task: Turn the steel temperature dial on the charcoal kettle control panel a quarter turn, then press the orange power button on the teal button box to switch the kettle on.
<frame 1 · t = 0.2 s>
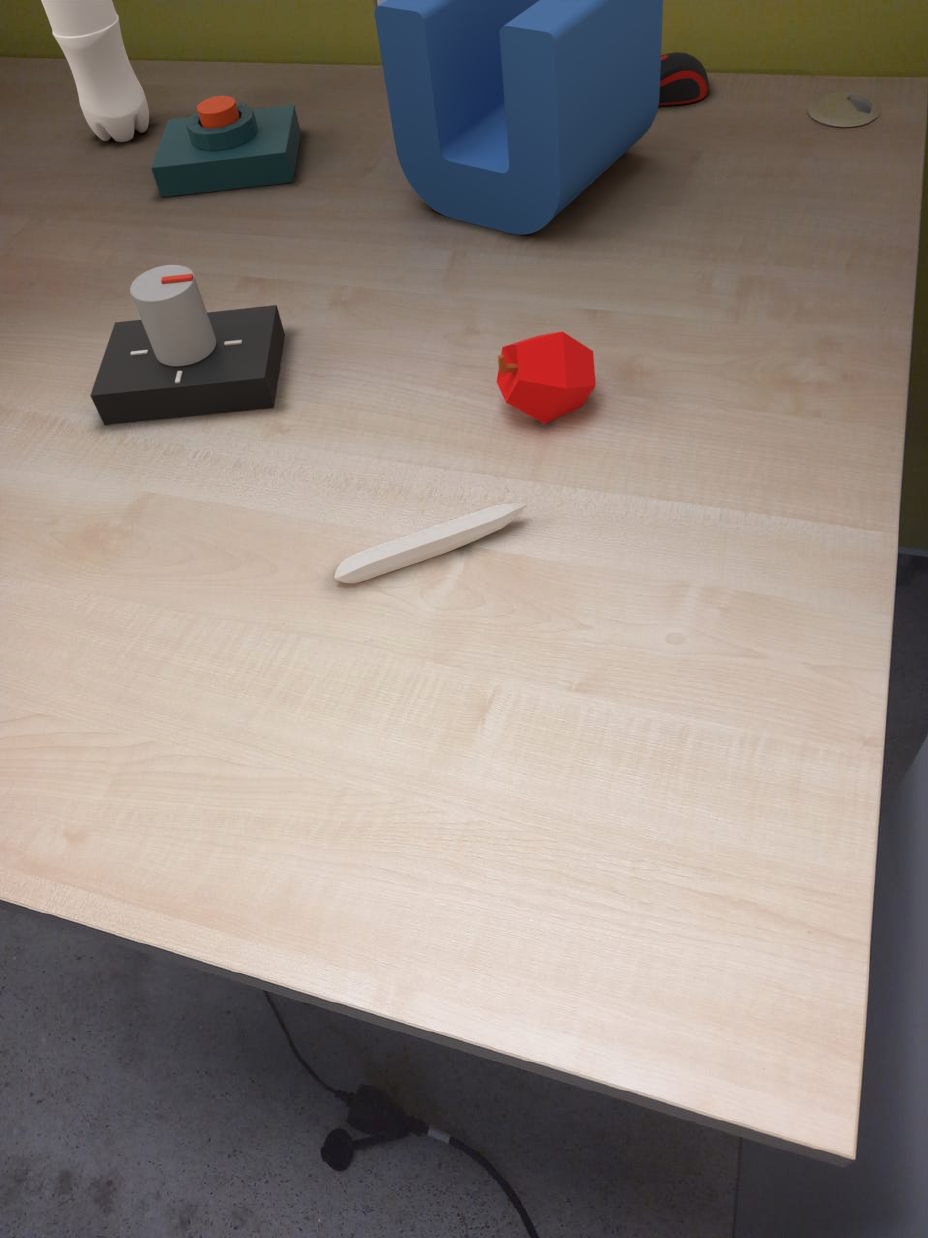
apple: (548, 405, 79), on the table
teal button box: (233, 164, 110), on the table
pen: (433, 552, 70), on the table
dial panel: (197, 378, 85), on the table
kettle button: (218, 112, 106), point 5 cm above the table, slide at 0.1 cm
computer mouse: (656, 97, 110), on the table
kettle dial: (173, 314, 81), point 6 cm above the table, hinge at 0.0°
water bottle: (125, 134, 118), on the table
block: (531, 183, 101), on the table
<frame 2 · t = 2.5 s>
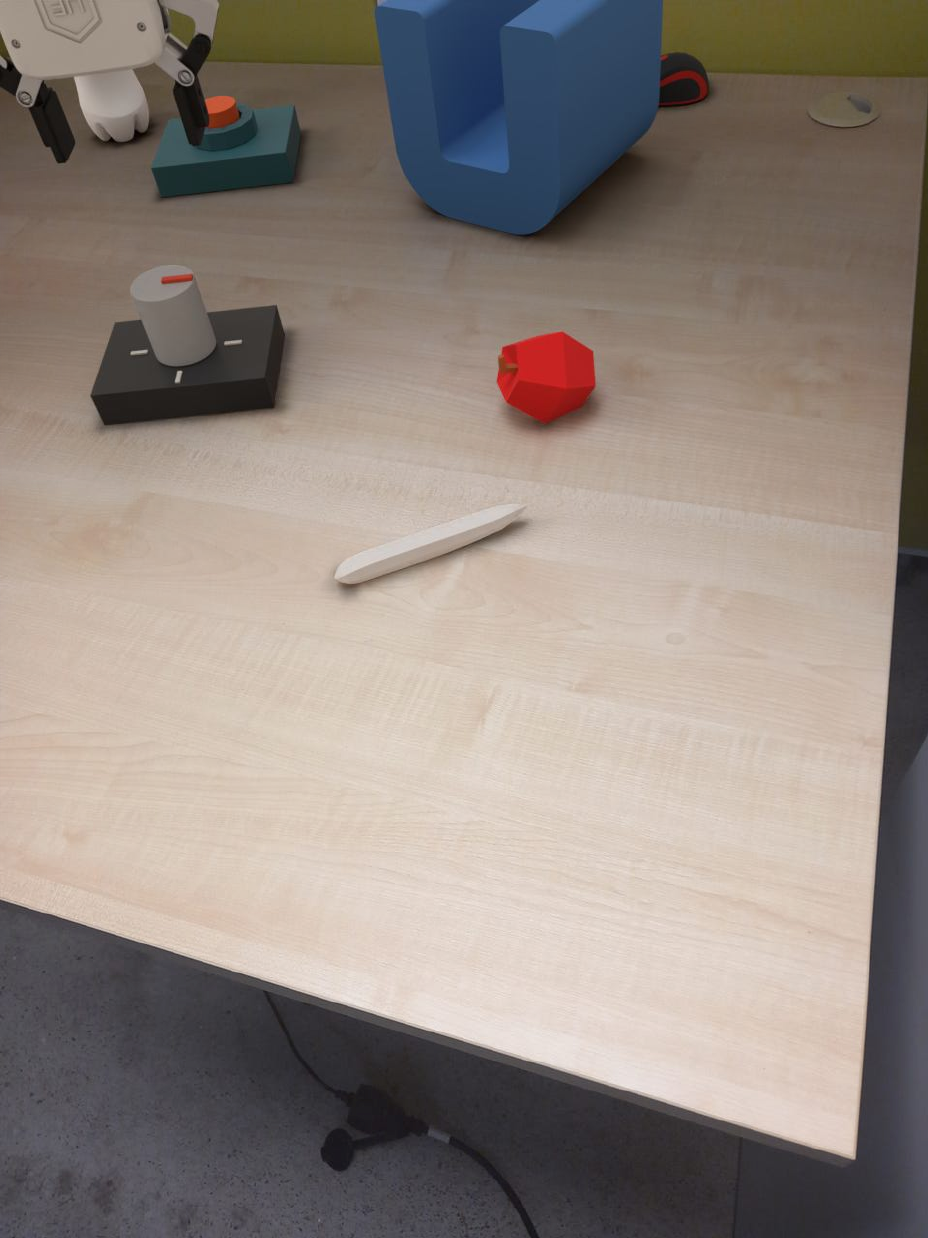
hand: (132, 145, 73), 18 cm above the table, tool pointing down, fingers open, 9 cm apart
nothing on the table moved.
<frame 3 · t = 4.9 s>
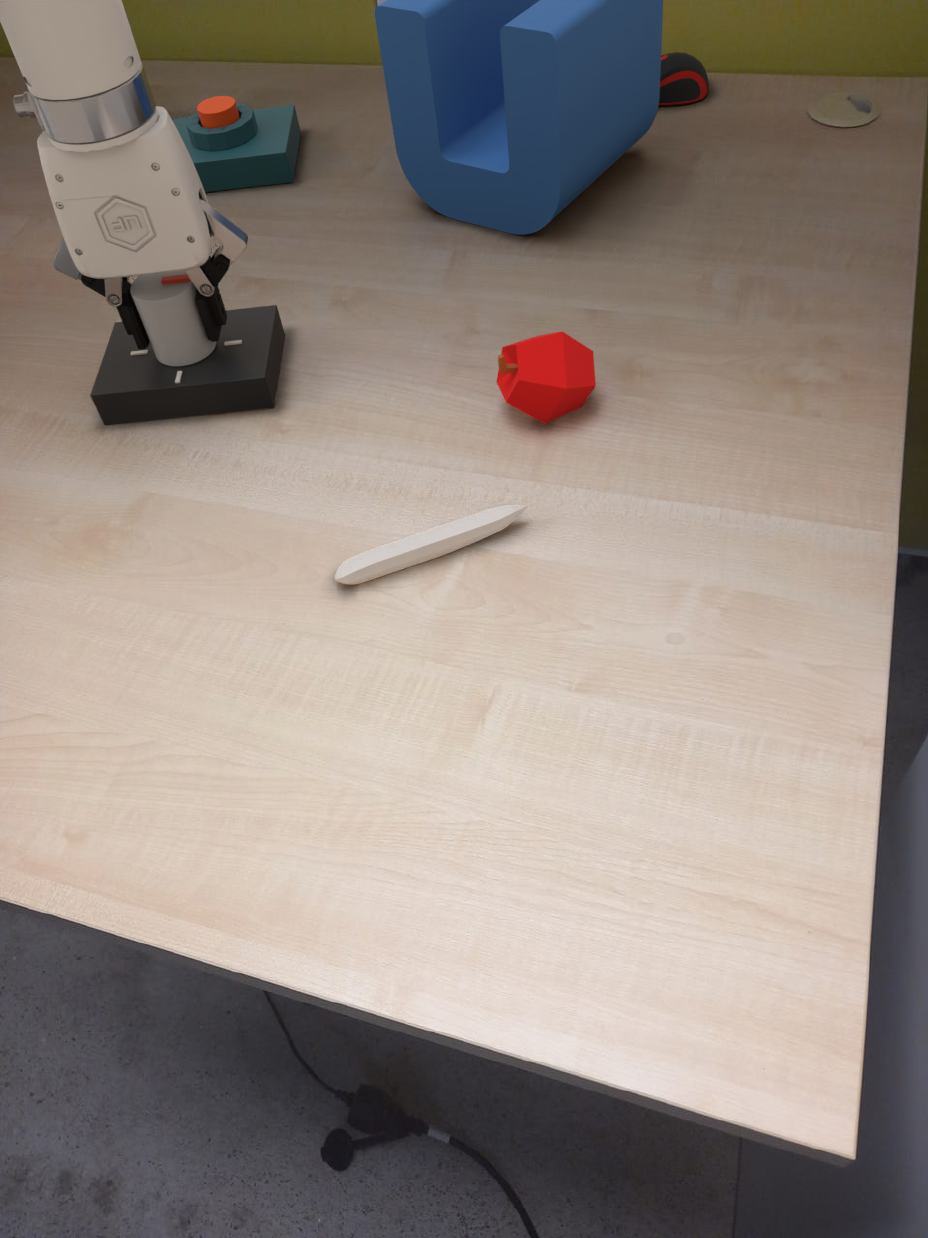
hand: (180, 333, 82), 4 cm above the table, tool pointing down, fingers closed on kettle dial, 5 cm apart
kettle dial: (173, 314, 81), point 6 cm above the table, hinge at 0.1°, touching gripper
everything else where it was.
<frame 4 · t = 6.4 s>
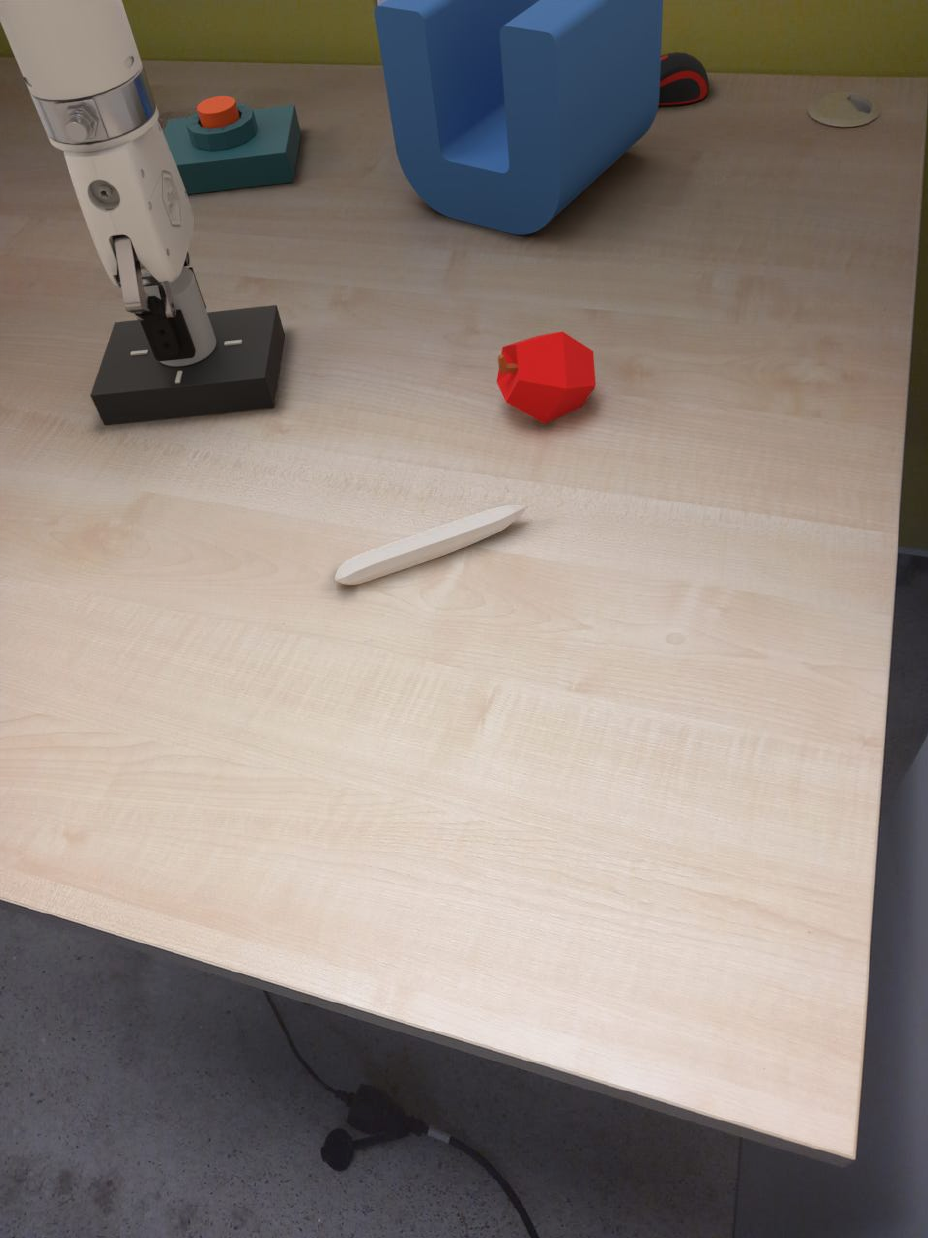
hand: (181, 333, 82), 4 cm above the table, tool pointing down, fingers closed on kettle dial, 5 cm apart
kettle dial: (173, 314, 81), point 6 cm above the table, hinge at 90.7°, touching gripper
everything else where it was.
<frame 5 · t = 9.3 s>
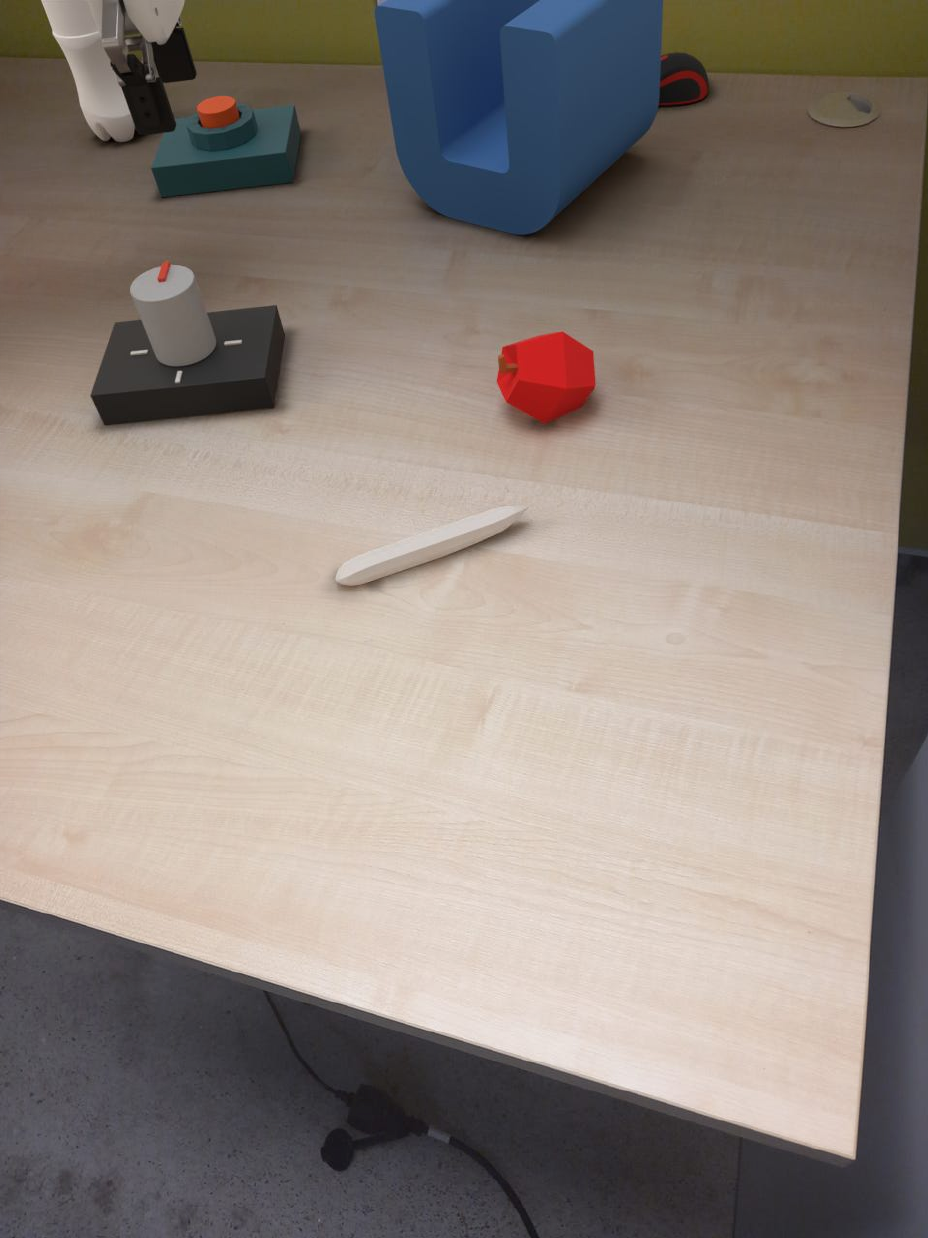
hand: (169, 104, 86), 15 cm above the table, tool pointing down, fingers open, 9 cm apart
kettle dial: (173, 314, 81), point 6 cm above the table, hinge at 89.8°
everything else where it was.
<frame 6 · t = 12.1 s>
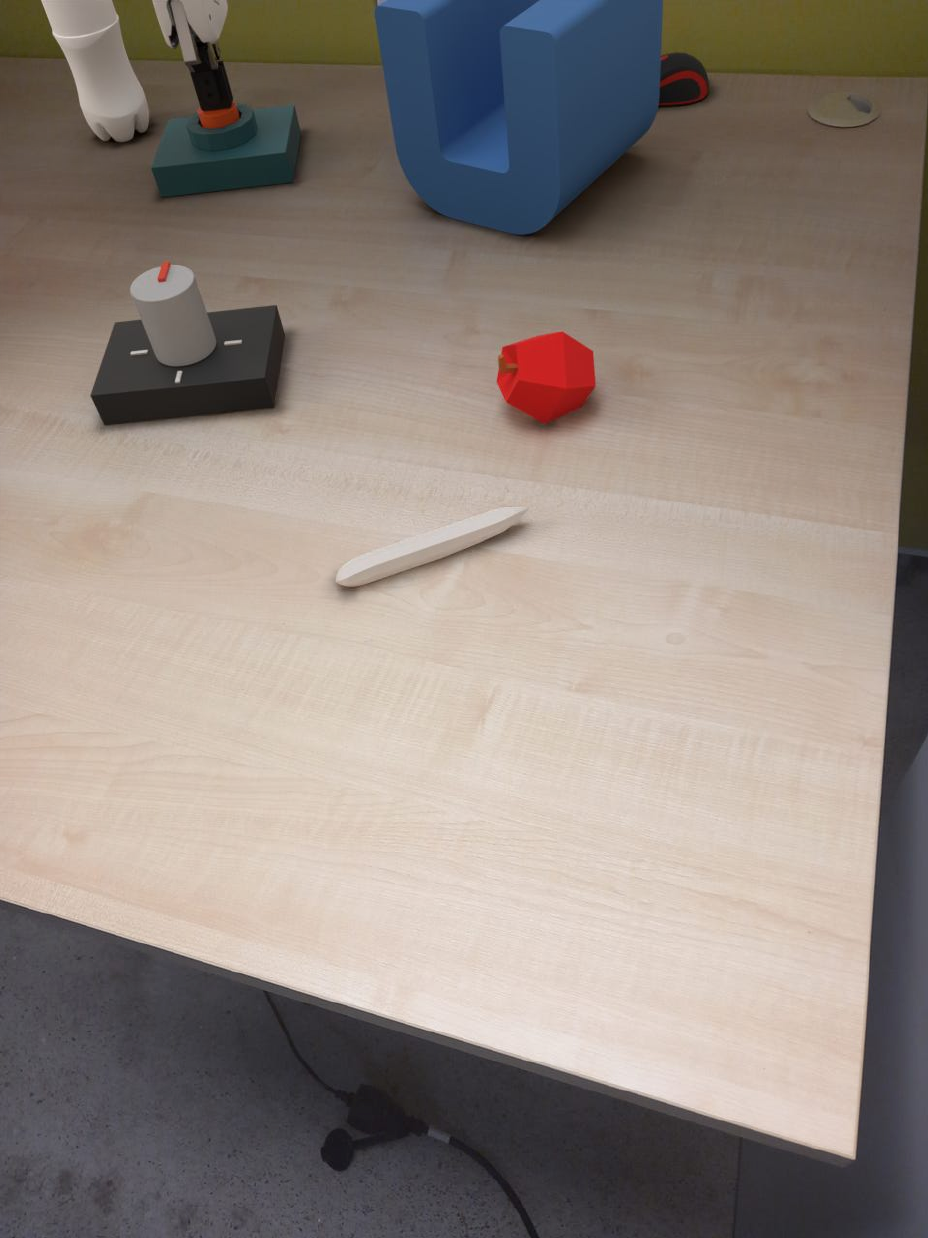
hand: (217, 105, 105), 6 cm above the table, tool pointing down, fingers closed
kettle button: (219, 115, 106), point 5 cm above the table, slide at -0.2 cm, touching gripper
everything else where it was.
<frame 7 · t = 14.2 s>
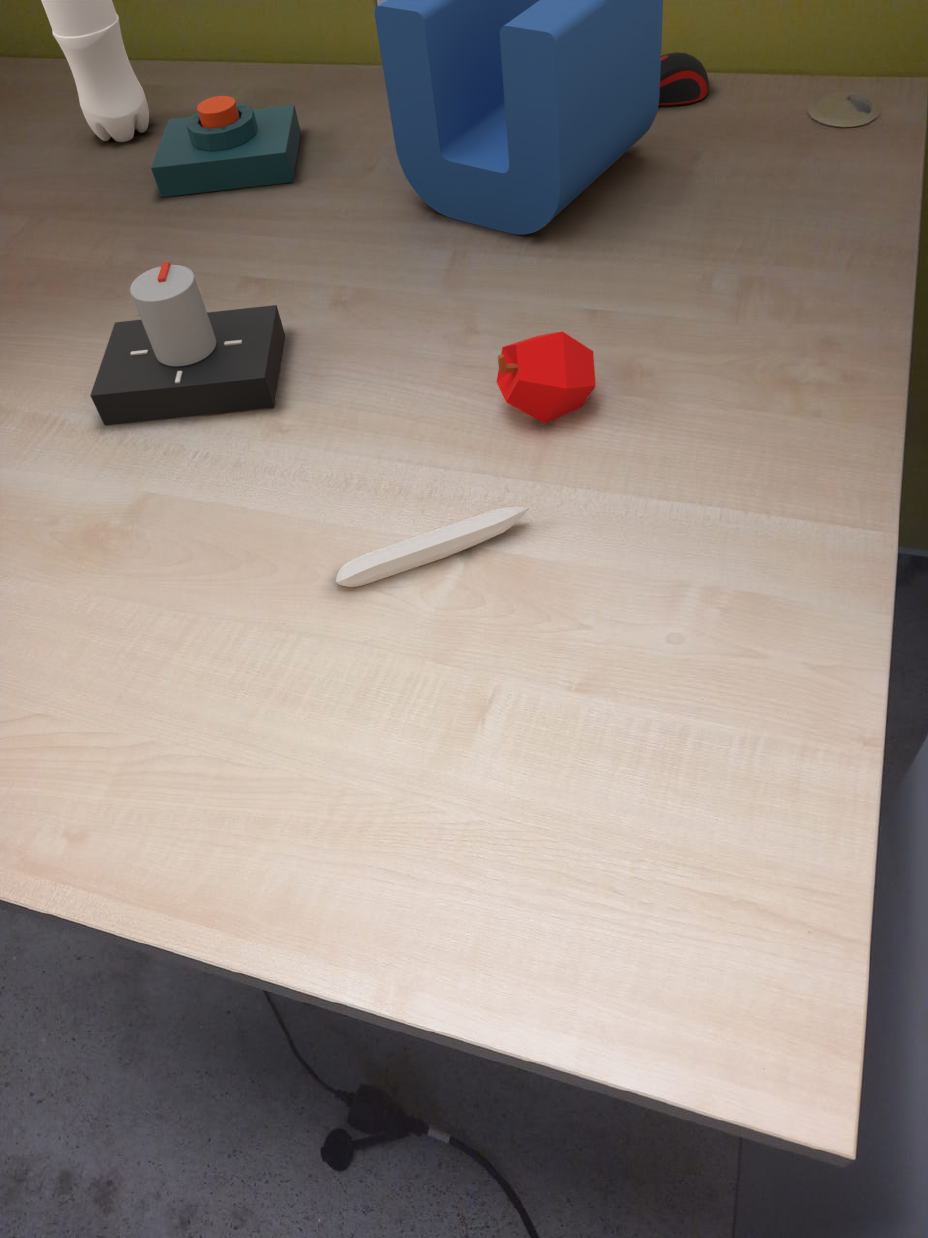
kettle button: (218, 112, 106), point 5 cm above the table, slide at 0.1 cm
everything else where it was.
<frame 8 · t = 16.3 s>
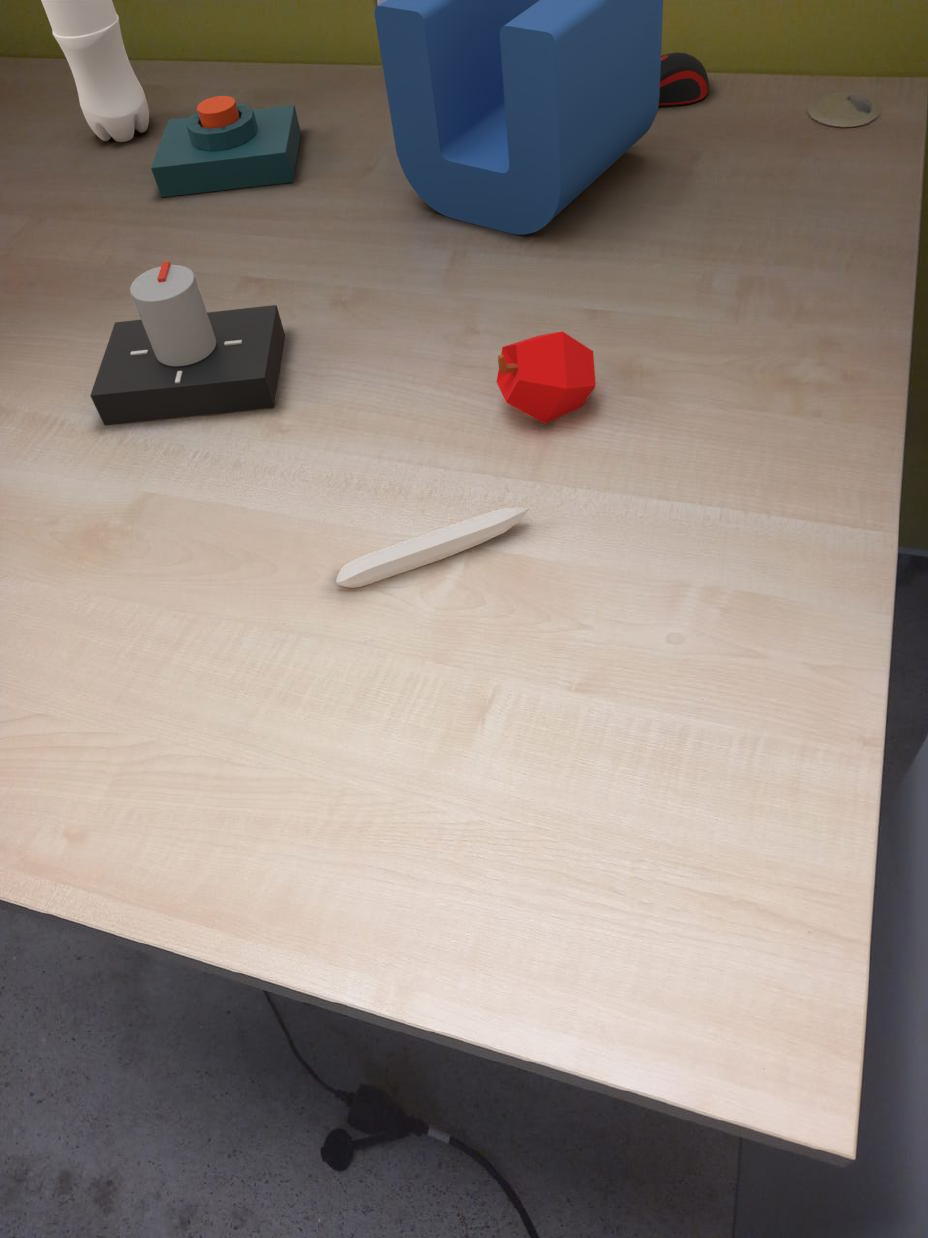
nothing on the table moved.
at the end: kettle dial at +90° (first picture: +0°); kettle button pushed in 1.1 cm at the most during the clip, back to where it started at the end; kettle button slide at 0.1 cm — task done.
